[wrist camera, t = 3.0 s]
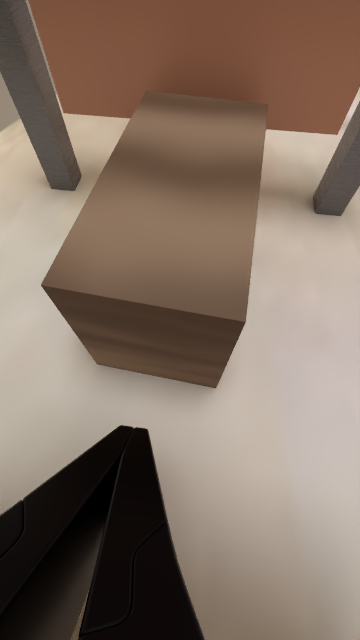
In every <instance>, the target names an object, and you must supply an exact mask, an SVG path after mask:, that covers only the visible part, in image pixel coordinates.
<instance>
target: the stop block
mask: <svg viewBox="0 0 360 640" xmlns="http://www.w3.org/2000/svg"><path fill="white" fill-rule="evenodd" d="M267 112H268V104H262V103H253V102H244V101H235V100H226V99H217V98H208V97H199V96H190V95H181V94H172V93H163V92H154V91H145V93H144V95H143V97H142V99H141V101H140V102H139V104H138V106H137V108H136V110H135V112H134V113H133V115H132V117H131V119H130V121H129V123H128V125H127V126H126V128H125V130H124V132H123V134H122V136H121V138H120V139H119V141H118V143H117V145H116V147H115V149H114V151H113V152H112V154H111V156H110V158H109V160H108V162H107V164H106V165H105V167H104V169H103V171H102V173H101V175H100V176H99V178H98V180H97V182H96V184H95V186H94V188H93V189H92V191H91V193H90V195H89V197H88V199H87V201H86V202H85V204H84V206H83V208H82V210H81V212H80V214H79V215H78V217H77V219H76V221H75V223H74V225H73V227H72V228H71V230H70V232H69V234H68V236H67V238H66V239H65V241H64V243H63V245H62V247H61V249H60V251H59V252H58V254H57V256H56V258H55V260H54V262H53V264H52V265H51V267H50V269H49V271H48V273H47V275H46V277H45V278H44V280H43V282H42V284H41V286H42V287H43V289H44V290H45V292H46V293H47V294H48V296H49V297H50V299H51V300H52V301H53V303H54V304H55V306H56V307H57V308H58V310H59V311H60V313H61V314H62V315H63V317H64V318H65V320H66V321H67V322H68V324H69V325H70V327H71V328H72V329H73V331H74V332H75V334H76V335H77V336H78V338H79V339H80V341H81V342H82V343H83V345H84V346H85V348H86V349H87V350H88V352H89V353H90V355H91V356H92V357H93V359H94V360H95V361H96V363H97V364H99V365H104V366H109V367H114V368H119V369H124V370H129V371H134V372H139V373H143V374H148V375H153V376H158V377H163V378H168V379H173V380H178V381H183V382H188V383H193V384H198V385H203V386H208V387H213V388H216V387H217V385H218V383H219V380H220V378H221V376H222V374H223V371H224V369H225V367H226V365H227V362H228V360H229V358H230V356H231V354H232V351H233V349H234V347H235V345H236V342H237V340H238V338H239V336H240V333H241V331H242V329H243V327H244V325H245V322H246V314H247V304H248V295H249V285H250V275H251V266H252V256H253V247H254V237H255V227H256V218H257V208H258V199H259V189H260V179H261V170H262V160H263V151H264V141H265V132H266V122H267Z"/></svg>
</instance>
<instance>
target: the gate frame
mask: <svg viewBox="0 0 360 640" xmlns="http://www.w3.org/2000/svg"><path fill="white" fill-rule="evenodd" d="M0 72H1V74H2V76H3V79H4V81H5V83H6V86H7V88H8V90H9V93H10V95H11V97H12V99H13V102H14V104H15V106H16V108H17V111H18V113H19V115H20V118H21V120H22V122H23V125H24V127H25V129H26V131H27V134H28V136H29V138H30V141H31V143H32V145H33V147H34V150H35V152H36V154H37V157H38V159H39V161H40V163H41V166H42V168H43V170H44V173H45V175H46V177H47V179H48V182H49V184H50V186H51V188H53V189H64V190H75V188H76V186H77V184H78V182H79V180H80V177H81V173H80V170H79V167H78V164H77V161H76V157H75V154H74V151H73V148H72V145H71V142H70V139H69V136H68V132H67V129H66V126H65V123H64V120H63V117H62V114H61V110H60V107H59V104H58V101H57V98H56V95H55V92H54V89H53V86H52V82H51V79H50V76H49V73H48V70H47V67H46V63H45V60H44V57H43V54H42V51H41V48H40V45H39V42H38V39H37V36H36V33H35V29H34V26H33V23H32V20H31V17H30V13H29V10H28V7H27V4H26V1H25V0H0ZM359 186H360V102H359V104H358V106H357V108H356V110H355V112H354V114H353V116H352V118H351V120H350V122H349V124H348V126H347V128H346V130H345V132H344V134H343V136H342V139H341V141H340V143H339V145H338V147H337V149H336V151H335V153H334V155H333V157H332V159H331V161H330V163H329V165H328V167H327V169H326V171H325V173H324V175H323V177H322V179H321V182H320V184H319V186H318V188H317V190H316V192H315V194H314V196H313V199H314V206H315V213H320V214H331V215H341V214H342V213H343V211H344V210H345V208H346V207H347V205H348V203H349V202H350V200H351V199H352V197H353V195H354V194H355V192H356V191H357V189H358V188H359Z"/></svg>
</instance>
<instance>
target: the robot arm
mask: <svg viewBox="0 0 360 640" xmlns="http://www.w3.org/2000/svg"><path fill="white" fill-rule="evenodd" d="M89 588H90V590H89ZM88 590H89V594H88V598H87V602H86V607H85V611H84V615H83V619H82V624H81V628H80V632H79V639H78V640H205V639H204V636H203V633H202V630H201V627H200V625H199V622H198V619H197V616H196V613H195V611H194V608H193V605H192V602H191V599H190V597H189V594H188V591H187V588H186V585H185V582H184V579H183V576H182V573H181V570H180V567H179V564H178V560H177V557H176V553H175V549H174V545H173V541H172V537H171V532H170V528H169V524H168V519H167V515H166V510H165V506H164V501H163V496H162V492H161V487H160V483H159V478H158V473H157V469H156V464H155V460H154V455H153V450H152V446H151V441H150V437H149V432H148V430H147V429H145V428H138V427H136V428H133V427H130V426H123V425H121V426H119V427H117V428H116V429H115V430H113V431H112V432H111V433H109V434H108V435H107V436H105V437H104V438H103V439H101V440H100V441H99V442H97V443H96V444H95V445H93V446H92V447H91V448H90V449H88V450H87V451H86V452H84V453H83V454H82V455H80V456H79V457H78V458H76V459H75V460H74V461H72V462H71V463H70V464H68V465H67V466H66V467H64V468H63V469H62V470H60V471H59V472H58V473H56V474H55V475H54V476H52V477H51V478H50V479H48V480H47V481H46V482H44V483H43V484H42V485H40V486H39V487H38V488H36V489H35V490H34V491H32V492H31V493H30V494H28V495H27V496H26V497H24V499H23V501H22V500H20V501H19V502H18V503H16V504H15V505H14V506H12V507H11V508H10V509H8V510H7V511H6V512H4V513H3V514H1V515H0V640H70V639H71V636H72V633H73V631H74V628H75V625H76V623H77V620H78V617H79V615H80V612H81V609H82V606H83V604H84V601H85V598H86V596H87V593H88Z"/></svg>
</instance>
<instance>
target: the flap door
mask: <svg viewBox="0 0 360 640" xmlns="http://www.w3.org/2000/svg"><path fill="white" fill-rule="evenodd" d="M28 1H29V4H30V7H31V10H32V13H33V16H34V20H35V22H36V26H37V29H38V32H39V36H40V39H41V42H42V45H43V49H44V52H45V55H46V58H47V61H48V65H49V68H50V71H51V74H52V77H53V80H54V84H55V87H56V90H57V93H58V97H59V100H60V103H61V106H62V109H63V113H68V114H81V115H93V116H106V117H119V118H131V117H132V115H133V113H134V112H135V110H136V108H137V106H138V104H139V102H140V101H141V99H142V97H143V95H144V93H145V91H154V92H163V93H172V94H181V95H190V96H199V97H208V98H217V99H226V100H235V101H244V102H253V103H262V104H268V112H267V122H266V129H271V130H283V131H296V132H308V133H321V134H334V135H337V134H338V132H339V130H340V128H341V126H342V124H343V121H344V119H345V117H346V115H347V113H348V111H349V109H350V107H351V104H352V102H353V100H354V98H355V96H356V94H357V92H358V90H359V87H360V0H28Z"/></svg>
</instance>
